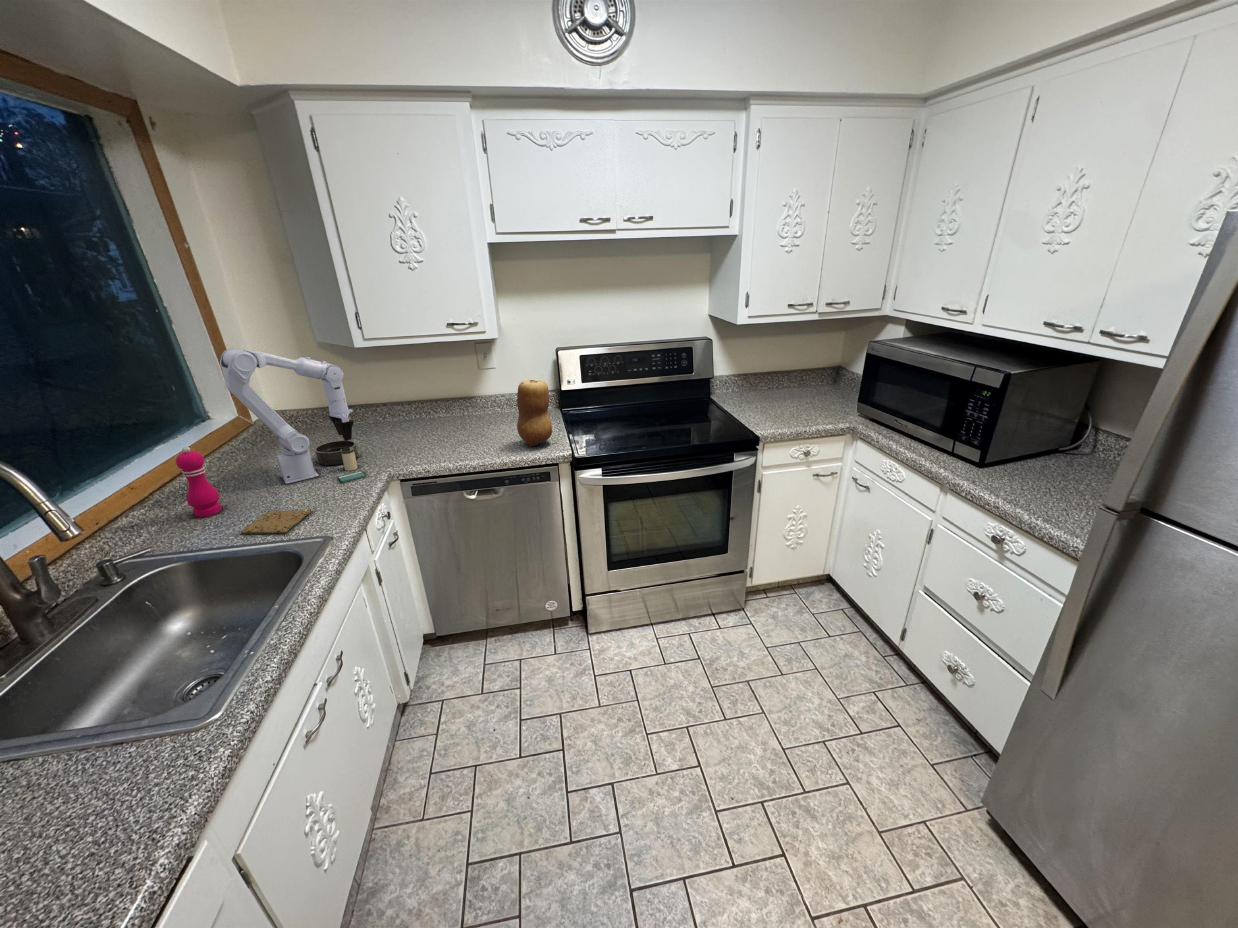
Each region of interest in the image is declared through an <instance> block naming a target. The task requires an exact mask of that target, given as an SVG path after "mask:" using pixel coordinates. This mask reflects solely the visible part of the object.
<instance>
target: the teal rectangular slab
mask: <svg viewBox="0 0 1238 928" xmlns="http://www.w3.org/2000/svg"><path fill="white" fill-rule="evenodd" d="M337 478H338V480H339V481H340V482H341V483H347V482H351V481H355V480H359V479H363V478H366V475H365V474H364V473H363V472H362V471H361V470H359V471H354V472H350V473H348V474H342V475H339V476H337Z"/></svg>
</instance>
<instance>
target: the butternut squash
mask: <svg viewBox="0 0 1238 928" xmlns="http://www.w3.org/2000/svg"><path fill="white" fill-rule="evenodd" d="M516 396H517V397H516V406H517V409H518V418H517V424H516V429H517V430H516V431H517V433H518V436H519V437H520V439H521V440H522V441H523V442H525V443H526V444H527V445H529V446H530V447H534V446H538V445H542V444H543V443H545V442H546V441H549V439H550V438H551V437H552V434H553V425H552V421H551V418H550V415H549V411H548V410H549V403H550V391H549V386H548V384H547V382H546V381H544V380H542V379H531V378H526V379H523V380H522V381H521V382H519V384H518V386H517V392H516Z"/></svg>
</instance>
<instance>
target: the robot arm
mask: <svg viewBox="0 0 1238 928" xmlns="http://www.w3.org/2000/svg"><path fill="white" fill-rule="evenodd" d="M311 358H312V357H309V356H304V357H301V356H300V357H298V358H296V359H292V358H288V357H284V356H279V355H275V354H271V353H267V352H264V351H258V350H249V349H242V350H241V349H239V348H233V347H232V348H231V347H230V348H228V349H225V350H224V351H223V352H222V354H221V356H220V359H219V360H220V361H219V366H220V368H221V371H222V375H223V379H224V384H225V387H226V389H227V390H228V391H229V392H230V393H232V395H233V396H235V398H236V399H238V400H239V401H240V403H242V404H243V405H244V406H245V407H246V408H247V409H248V410H249V411H250V412H251V413H252V414H253V415H254V416H255V417H256V418H257V419H258V420H260V422H261V423H263V425H265V426H266V427H267V428H268V429H269V430H270V431H271V433H272V434H273V436H274V437H276V438H275V439H276V440H277V443H278V444H279V445H280V446H281V447H282V448H283V449H282V453H281V454H278V455H275V456H276V461H277V464H278V468H279V471H280V472H279V475H280V477H281V478H282V479H283V482H284V483H285V484H286V485H288V484H292V483H296V482H301V481H305V480H308V479H314V478H317V477H319V473H318V472H317V471H316V469H315V468H314V464H313V463H314V462H313V459H312V456H311V455H312V454H311V452H310V446H311V445H310V443H311V442H310V439H309V437H308V436H306V435H304V434H302V433H300V432H298V431H297V430H296V429H295V428H294V427H293V426H291V425H289V424H288V422H286V420H285V419H284V418H282V416H281V415H279V414H278V413H277V411H275V410H274V409H273V408H272V407H271V406H270V405H269V404H268V403H267V401H266V400H265V399H263V397H262V396H260V395H259V394H258V393H257V392H256V391H255V390H254V389H253V388H252V387H251V386H250V383H251V382H250V381H251V377H252V375H253V374H254V372H255V371H256V369H257V368H258V369H262V368H264V367H266V366H270V367H277V368H282V369H287V370H292V371H294V372H295V374H296V375H297V376H301V377H307V378H311V379H316V380H321V381H322V385H323V389H324V395H325V398H326V402H327V407H328V411H329V412H328V413H329V415H328V419H329V420H330V422H332V424H333V426H334V428H335V430H336V432H337V434H338V436H342V440H345V441H347V440H350V441H352V437H353V426H354V424H355V423H354V422H355V420H354V419H353V418H352V419H349V415H350V414H351V413H353V409H350V408H349V406H348V402H347V397H346V393H345V389H344V384H343V379H344V375H345V374H344V372H343V370H342V368H340V366H338V365H337V364H332V363H328V362H327V361H325V360H321V361H320V360H319V361H318V360H314V359H311Z"/></svg>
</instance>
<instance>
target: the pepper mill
mask: <svg viewBox="0 0 1238 928" xmlns="http://www.w3.org/2000/svg"><path fill="white" fill-rule="evenodd" d="M204 464H205V458H204V456H203V454H202V453H200V452H198V451H194V450H191V448H190V447H189V446H183V447H182V448H181V453H180V454H178V455H177V456H176V458H175V465H176V467H178V468H179V469H180V470H181V473H182V476H183V477H185V478H186V480H187V483H188V487H187V488H188V489H187V493H186V501H187V505H189V506H190V507H192V508H193V509H192V512H193V515H194V517H197V518H205V517H209V516H213V515H217V514H218V513H220V512H221V511H222V509H223V508H222V506H221V503H220V502H219V500H220V497H221V496H220V493H219V491H218V490H217V489H216V488H215V487H214V486H213V485H211V483H210V482H209V481H208V479H207V477H206V474H205V473H206V471H207V470H206V467H205V466H203V465H204Z"/></svg>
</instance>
